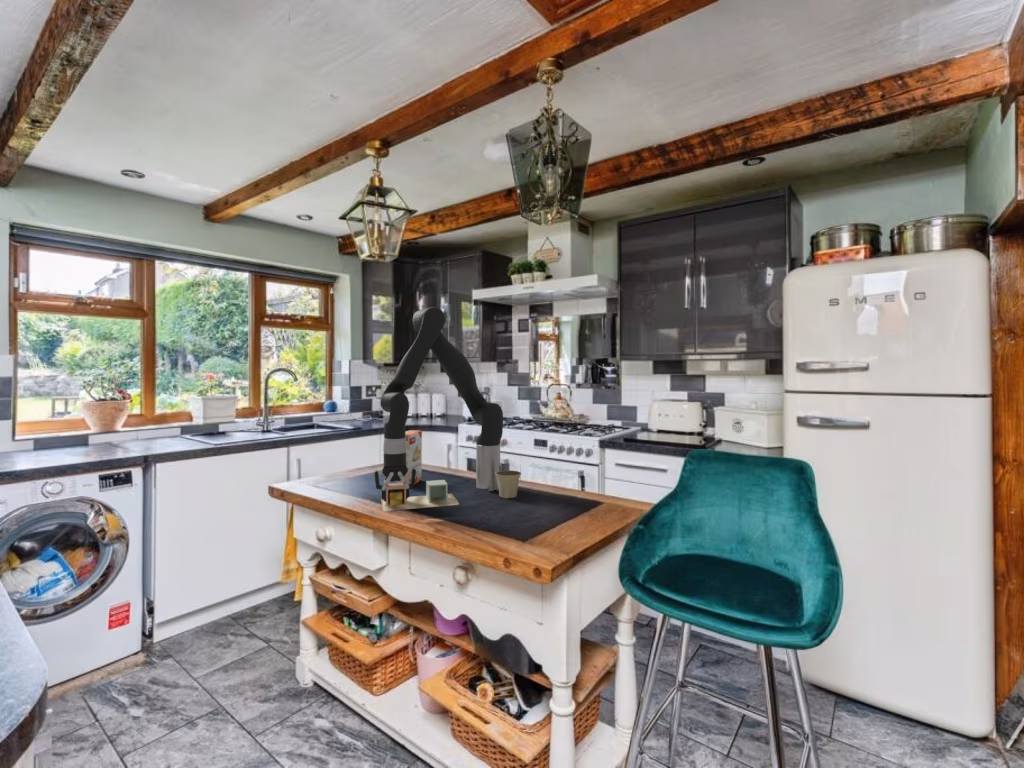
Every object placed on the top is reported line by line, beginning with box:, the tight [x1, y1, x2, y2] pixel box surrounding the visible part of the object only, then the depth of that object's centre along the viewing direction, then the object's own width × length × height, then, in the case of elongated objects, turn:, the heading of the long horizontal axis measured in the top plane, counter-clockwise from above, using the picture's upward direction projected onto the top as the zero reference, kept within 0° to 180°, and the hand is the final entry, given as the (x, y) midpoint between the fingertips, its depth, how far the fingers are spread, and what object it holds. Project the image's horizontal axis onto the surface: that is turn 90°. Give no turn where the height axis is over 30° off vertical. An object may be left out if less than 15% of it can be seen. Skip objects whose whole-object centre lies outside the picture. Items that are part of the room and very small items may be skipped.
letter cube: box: [389, 490, 402, 505], centre depth 175 cm, size 4×4×4 cm
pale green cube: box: [425, 479, 449, 503], centre depth 179 cm, size 6×6×6 cm
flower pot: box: [495, 469, 522, 499], centre depth 187 cm, size 9×9×9 cm
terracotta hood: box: [385, 482, 406, 506], centre depth 175 cm, size 6×6×6 cm
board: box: [380, 493, 460, 512], centre depth 177 cm, size 25×15×1 cm, turn 107°
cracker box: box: [396, 429, 423, 485], centre depth 205 cm, size 14×6×21 cm, turn 171°
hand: (395, 499), depth 175 cm, fingers closed on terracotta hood, 6 cm apart
